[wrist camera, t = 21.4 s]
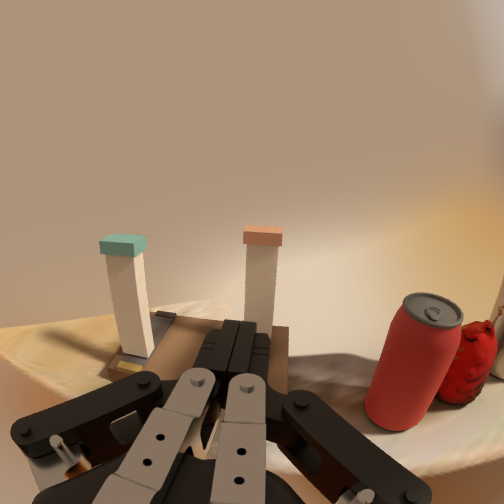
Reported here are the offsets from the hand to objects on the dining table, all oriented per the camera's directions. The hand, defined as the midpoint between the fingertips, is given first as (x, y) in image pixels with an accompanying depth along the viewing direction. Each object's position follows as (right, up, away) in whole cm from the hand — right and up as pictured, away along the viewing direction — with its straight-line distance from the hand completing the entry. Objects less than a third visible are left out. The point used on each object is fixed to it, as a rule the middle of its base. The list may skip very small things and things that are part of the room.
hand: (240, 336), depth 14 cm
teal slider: (-11, -6, +15) cm, 20 cm away
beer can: (+15, -12, +10) cm, 22 cm away
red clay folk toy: (+23, -12, +12) cm, 29 cm away
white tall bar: (+1, -5, +19) cm, 20 cm away
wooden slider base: (-5, -8, +18) cm, 20 cm away
